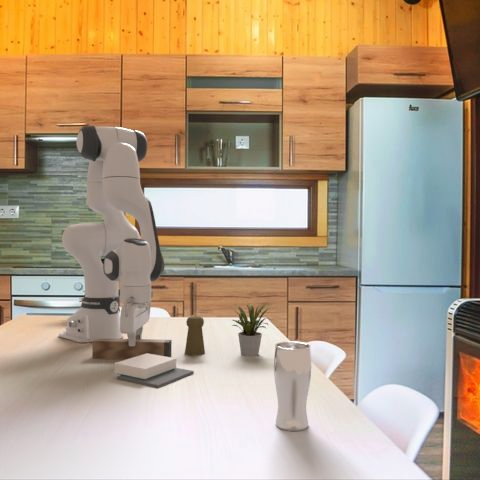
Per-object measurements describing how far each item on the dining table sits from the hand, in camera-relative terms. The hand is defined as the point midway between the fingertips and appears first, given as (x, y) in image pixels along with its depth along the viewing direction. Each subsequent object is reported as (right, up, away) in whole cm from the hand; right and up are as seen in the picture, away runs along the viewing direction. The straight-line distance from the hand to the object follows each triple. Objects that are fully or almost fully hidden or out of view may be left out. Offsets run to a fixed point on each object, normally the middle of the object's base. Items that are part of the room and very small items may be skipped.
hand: (135, 343), depth 140 cm
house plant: (+34, -5, +5) cm, 35 cm away
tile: (+2, -2, -14) cm, 14 cm away
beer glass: (+40, -5, -49) cm, 63 cm away
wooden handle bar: (-1, -4, 0) cm, 4 cm away
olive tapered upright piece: (+17, -5, +7) cm, 18 cm away
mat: (+9, -4, -18) cm, 21 cm away
